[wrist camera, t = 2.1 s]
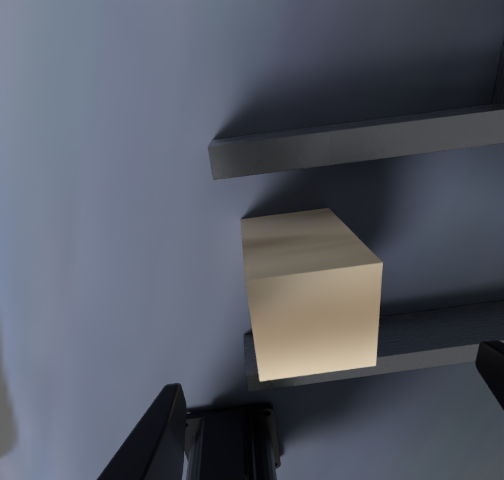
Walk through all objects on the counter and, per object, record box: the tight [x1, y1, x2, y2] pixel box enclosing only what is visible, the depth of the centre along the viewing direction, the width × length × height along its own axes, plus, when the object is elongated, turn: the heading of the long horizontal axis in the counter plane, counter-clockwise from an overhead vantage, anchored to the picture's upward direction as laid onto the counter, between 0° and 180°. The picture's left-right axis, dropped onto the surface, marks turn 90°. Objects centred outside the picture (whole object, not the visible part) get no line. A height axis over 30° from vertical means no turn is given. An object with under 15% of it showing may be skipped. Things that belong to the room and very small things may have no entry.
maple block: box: [240, 208, 383, 381], centre depth 13 cm, size 4×4×6 cm
